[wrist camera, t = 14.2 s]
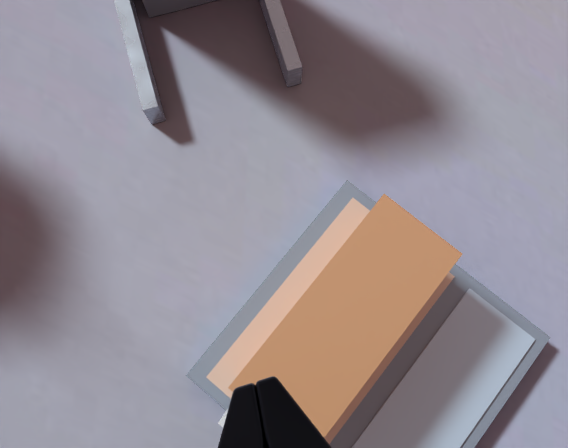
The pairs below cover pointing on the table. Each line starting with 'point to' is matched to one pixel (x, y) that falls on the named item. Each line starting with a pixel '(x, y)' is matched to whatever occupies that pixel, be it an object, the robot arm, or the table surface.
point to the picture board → (403, 355)
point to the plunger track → (143, 67)
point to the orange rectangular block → (353, 313)
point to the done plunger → (169, 5)
